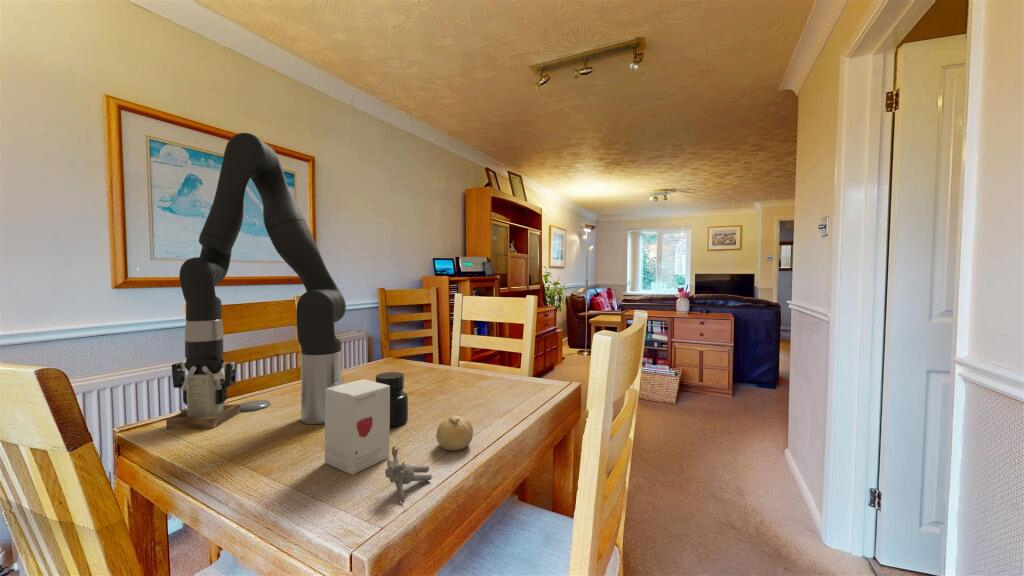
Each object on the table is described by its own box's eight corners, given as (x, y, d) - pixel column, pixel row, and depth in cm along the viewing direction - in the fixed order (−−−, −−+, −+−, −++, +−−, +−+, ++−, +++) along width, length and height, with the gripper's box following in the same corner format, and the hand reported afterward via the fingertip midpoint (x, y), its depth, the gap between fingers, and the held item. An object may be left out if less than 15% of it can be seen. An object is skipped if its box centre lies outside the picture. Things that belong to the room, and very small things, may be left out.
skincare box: (224, 418, 99) (223, 371, 98) (209, 424, 94) (208, 375, 94) (201, 417, 99) (201, 370, 99) (185, 423, 95) (184, 374, 94)
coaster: (275, 401, 112) (275, 399, 112) (260, 411, 104) (260, 409, 104) (246, 402, 111) (246, 400, 111) (228, 412, 103) (228, 409, 103)
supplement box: (351, 476, 71) (351, 396, 70) (323, 463, 76) (323, 388, 75) (391, 457, 79) (391, 384, 78) (362, 446, 83) (363, 378, 83)
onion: (428, 447, 84) (428, 414, 83) (456, 436, 90) (456, 405, 89) (452, 458, 78) (453, 424, 78) (480, 446, 84) (481, 414, 84)
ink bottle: (373, 416, 101) (373, 371, 100) (408, 414, 103) (408, 369, 103) (369, 431, 91) (369, 381, 91) (407, 428, 94) (407, 379, 93)
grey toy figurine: (445, 493, 66) (400, 494, 60) (424, 510, 68) (378, 514, 62) (432, 440, 73) (390, 436, 67) (413, 457, 75) (371, 455, 69)
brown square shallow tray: (240, 412, 102) (240, 401, 102) (213, 428, 92) (213, 415, 92) (197, 413, 101) (197, 402, 101) (166, 429, 91) (165, 416, 91)
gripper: (244, 335, 100) (244, 398, 101) (184, 335, 99) (185, 399, 100) (225, 340, 93) (226, 408, 94) (161, 340, 92) (162, 409, 92)
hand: (205, 403), depth 97 cm, fingers closed on skincare box, 6 cm apart
